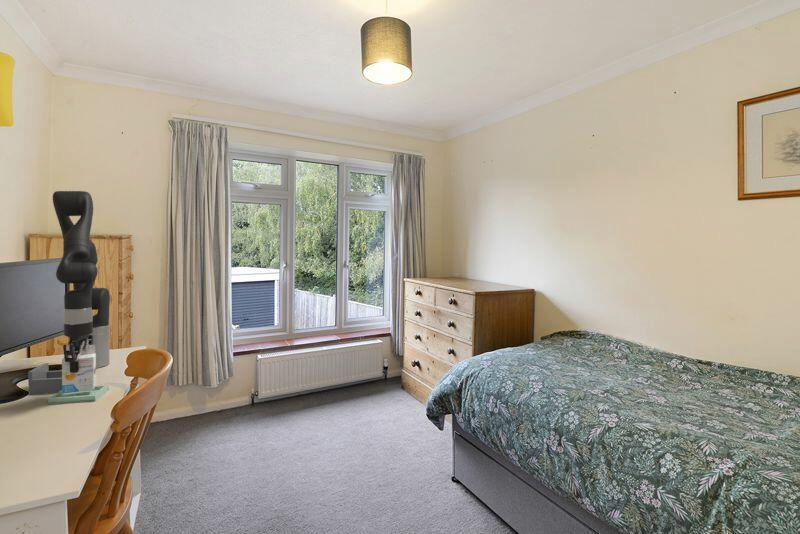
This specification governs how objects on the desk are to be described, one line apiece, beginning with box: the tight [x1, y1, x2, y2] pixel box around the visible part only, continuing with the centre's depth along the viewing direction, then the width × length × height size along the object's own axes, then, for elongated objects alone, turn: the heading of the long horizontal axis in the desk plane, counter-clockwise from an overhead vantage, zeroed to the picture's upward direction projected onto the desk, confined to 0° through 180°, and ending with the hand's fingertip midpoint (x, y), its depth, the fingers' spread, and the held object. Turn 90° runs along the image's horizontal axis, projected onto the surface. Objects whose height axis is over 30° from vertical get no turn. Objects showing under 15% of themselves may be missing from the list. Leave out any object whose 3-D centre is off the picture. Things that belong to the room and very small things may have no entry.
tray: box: [47, 384, 110, 405], centre depth 130 cm, size 10×13×2 cm
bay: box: [27, 362, 62, 395], centre depth 136 cm, size 9×12×8 cm
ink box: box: [61, 345, 97, 394], centre depth 129 cm, size 8×5×15 cm, turn 122°
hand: (79, 369), depth 129 cm, fingers closed on ink box, 5 cm apart
